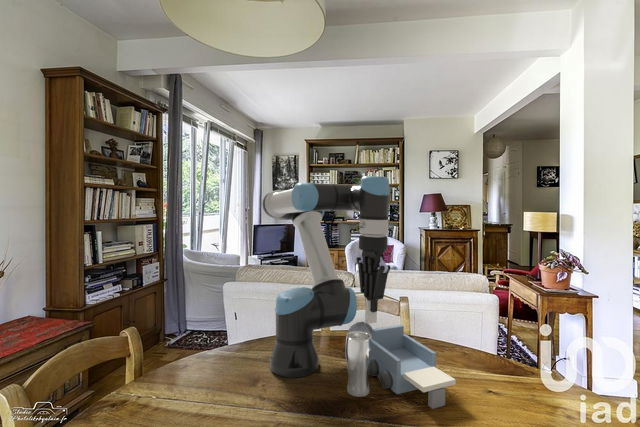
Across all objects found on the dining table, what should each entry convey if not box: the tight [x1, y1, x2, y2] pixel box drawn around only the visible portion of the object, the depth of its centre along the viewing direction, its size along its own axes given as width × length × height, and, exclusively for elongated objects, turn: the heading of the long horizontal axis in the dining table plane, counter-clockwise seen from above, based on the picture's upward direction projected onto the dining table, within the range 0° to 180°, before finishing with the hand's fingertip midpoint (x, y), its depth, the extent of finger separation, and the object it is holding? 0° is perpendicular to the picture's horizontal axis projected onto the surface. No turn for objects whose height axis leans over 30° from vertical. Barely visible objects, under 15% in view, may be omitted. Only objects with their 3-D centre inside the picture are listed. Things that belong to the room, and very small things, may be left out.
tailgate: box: [403, 366, 457, 393], centre depth 85 cm, size 2×10×8 cm
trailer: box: [368, 324, 446, 410], centre depth 93 cm, size 24×16×12 cm
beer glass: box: [345, 331, 371, 398], centre depth 89 cm, size 7×7×15 cm
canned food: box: [346, 321, 373, 339], centre depth 115 cm, size 11×10×10 cm
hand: (370, 322), depth 89 cm, fingers closed
